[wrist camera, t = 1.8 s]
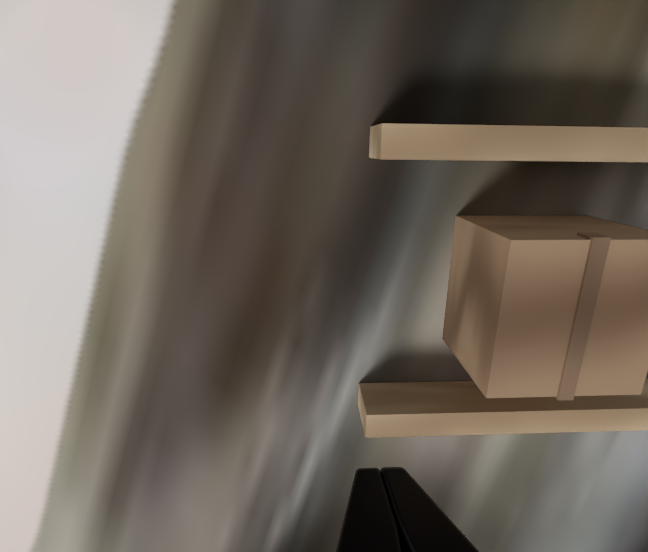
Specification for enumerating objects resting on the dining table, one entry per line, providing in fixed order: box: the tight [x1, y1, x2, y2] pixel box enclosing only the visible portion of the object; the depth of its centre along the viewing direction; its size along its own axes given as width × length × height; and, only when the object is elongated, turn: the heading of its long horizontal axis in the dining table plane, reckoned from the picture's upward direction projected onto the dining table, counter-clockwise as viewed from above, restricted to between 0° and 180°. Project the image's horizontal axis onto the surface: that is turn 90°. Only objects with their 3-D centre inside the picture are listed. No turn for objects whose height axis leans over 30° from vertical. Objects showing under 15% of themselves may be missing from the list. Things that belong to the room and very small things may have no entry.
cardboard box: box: [442, 216, 648, 400], centre depth 16 cm, size 6×6×5 cm
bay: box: [358, 123, 648, 438], centre depth 17 cm, size 13×22×3 cm, turn 89°
